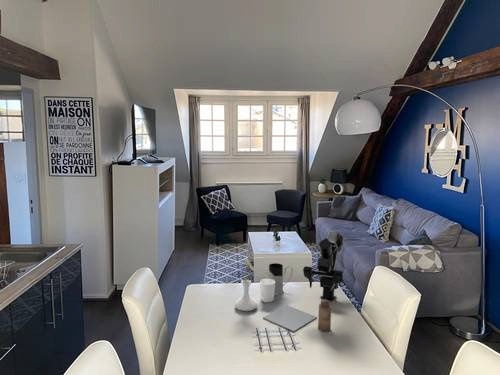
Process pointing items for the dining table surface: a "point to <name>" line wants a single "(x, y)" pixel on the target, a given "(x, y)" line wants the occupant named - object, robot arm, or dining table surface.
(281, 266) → the grey pitcher
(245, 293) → the flower in vase
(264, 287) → the white cup
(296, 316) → the slate tile
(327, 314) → the pepper mill
